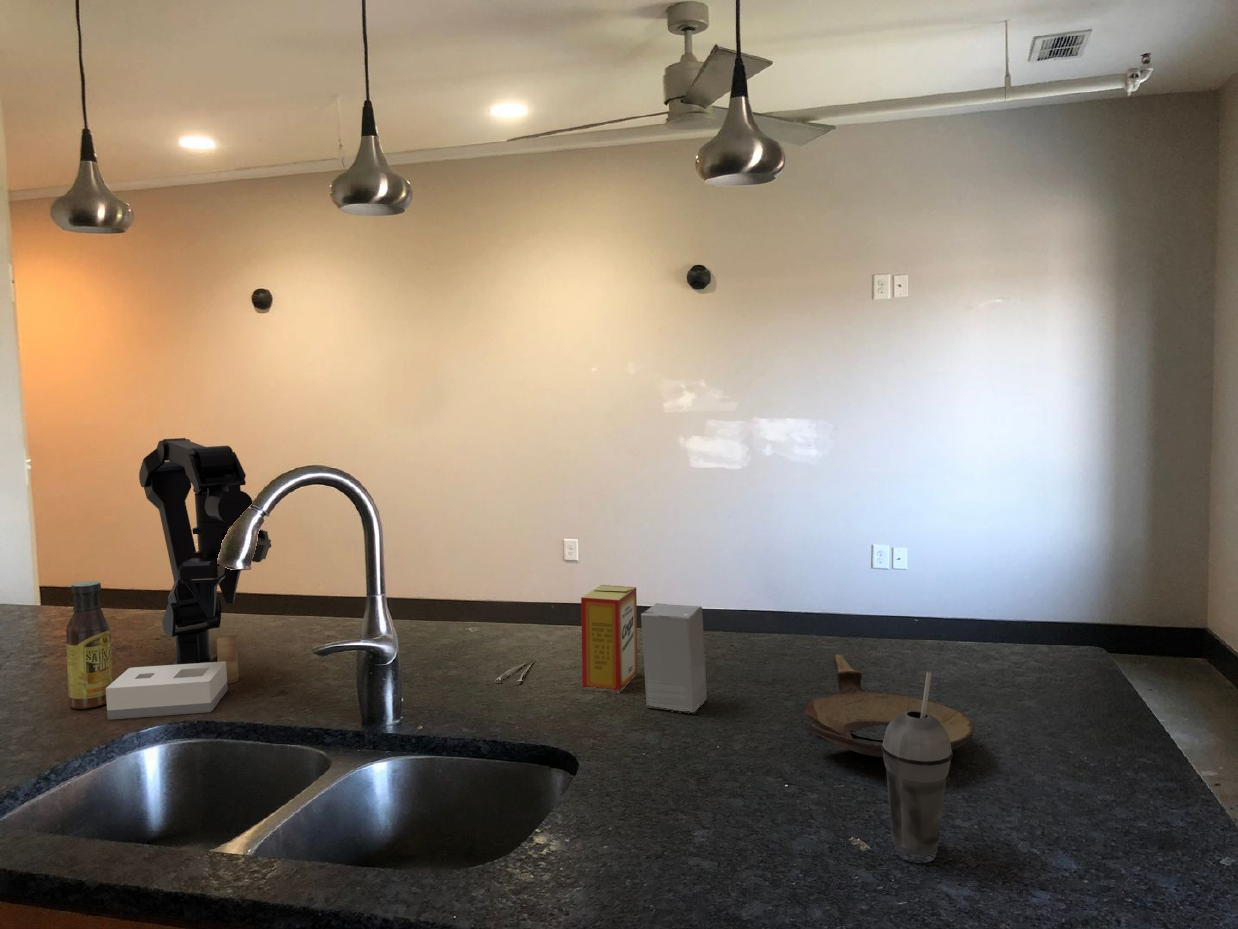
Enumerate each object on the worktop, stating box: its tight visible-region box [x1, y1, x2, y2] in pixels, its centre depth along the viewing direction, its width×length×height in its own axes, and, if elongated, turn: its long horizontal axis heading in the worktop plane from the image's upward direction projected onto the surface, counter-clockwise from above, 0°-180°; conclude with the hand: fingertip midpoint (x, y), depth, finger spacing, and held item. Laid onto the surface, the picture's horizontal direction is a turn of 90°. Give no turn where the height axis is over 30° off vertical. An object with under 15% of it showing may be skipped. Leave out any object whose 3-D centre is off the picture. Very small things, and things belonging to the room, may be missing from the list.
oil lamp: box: [804, 653, 975, 758], centre depth 124 cm, size 22×30×8 cm
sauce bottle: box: [65, 580, 114, 710], centre depth 141 cm, size 7×6×20 cm
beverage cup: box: [881, 671, 953, 856], centre depth 94 cm, size 7×7×20 cm
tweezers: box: [495, 662, 532, 682], centre depth 157 cm, size 18×5×2 cm, turn 165°
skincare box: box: [640, 603, 708, 713], centre depth 137 cm, size 8×7×16 cm
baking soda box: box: [580, 584, 638, 691], centre depth 149 cm, size 10×6×16 cm
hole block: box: [106, 661, 229, 721], centre depth 141 cm, size 10×15×5 cm, turn 100°
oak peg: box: [215, 632, 240, 685], centre depth 152 cm, size 3×3×8 cm
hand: (220, 610), depth 150 cm, fingers open, 9 cm apart
